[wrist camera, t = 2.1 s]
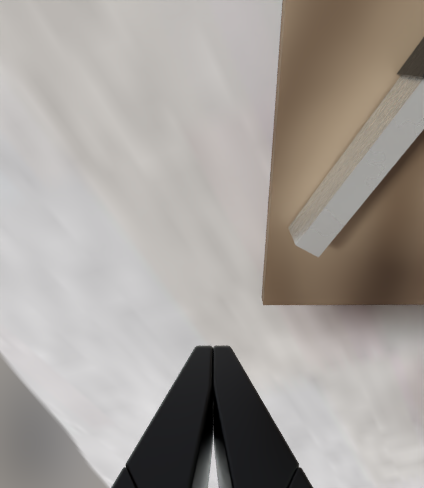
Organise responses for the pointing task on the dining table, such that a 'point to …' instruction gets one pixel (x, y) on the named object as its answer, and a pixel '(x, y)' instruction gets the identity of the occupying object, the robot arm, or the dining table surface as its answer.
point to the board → (334, 145)
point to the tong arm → (365, 159)
